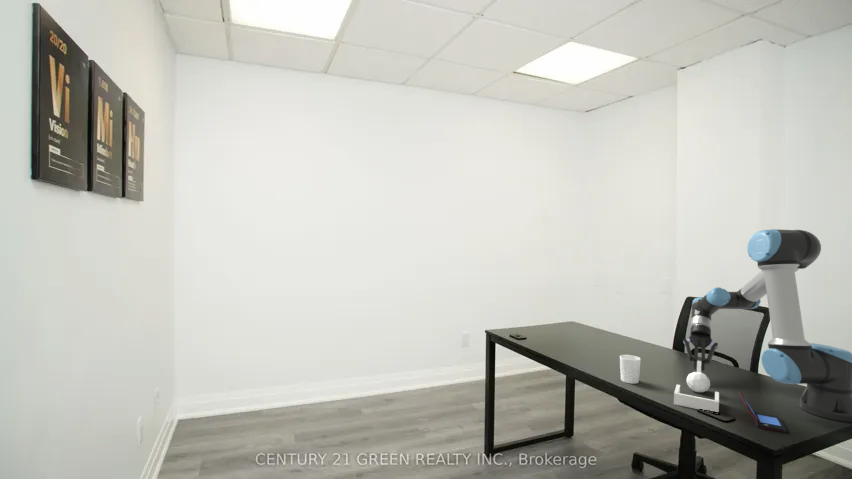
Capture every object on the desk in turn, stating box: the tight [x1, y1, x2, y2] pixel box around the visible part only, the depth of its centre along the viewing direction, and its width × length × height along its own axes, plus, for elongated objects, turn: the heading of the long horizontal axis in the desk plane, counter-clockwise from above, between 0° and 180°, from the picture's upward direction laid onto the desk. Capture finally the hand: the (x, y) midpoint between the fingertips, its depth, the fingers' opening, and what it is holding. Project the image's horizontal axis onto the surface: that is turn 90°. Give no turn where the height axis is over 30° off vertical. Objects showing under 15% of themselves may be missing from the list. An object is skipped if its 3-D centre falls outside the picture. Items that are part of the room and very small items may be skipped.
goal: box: [673, 384, 720, 412], centre depth 153 cm, size 11×13×4 cm
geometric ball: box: [686, 371, 711, 393], centre depth 165 cm, size 8×8×8 cm
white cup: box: [619, 354, 642, 385], centre depth 176 cm, size 8×8×10 cm
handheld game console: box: [739, 392, 787, 434], centre depth 139 cm, size 12×11×7 cm
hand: (698, 376), depth 172 cm, fingers closed
